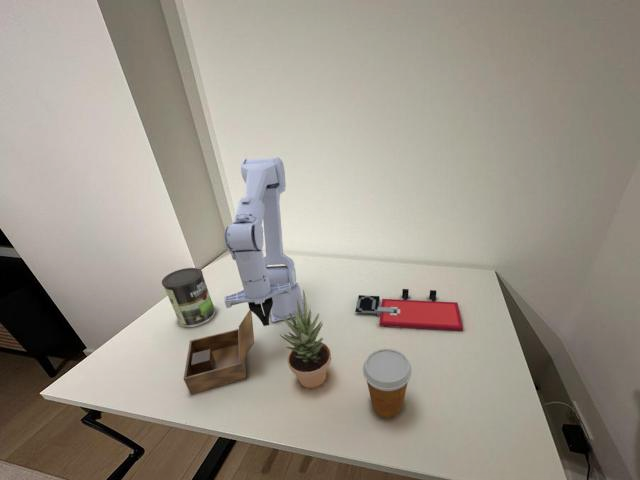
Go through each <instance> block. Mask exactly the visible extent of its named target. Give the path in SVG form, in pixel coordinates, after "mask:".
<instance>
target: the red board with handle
mask: <svg viewBox="0 0 640 480" xmlns="http://www.w3.org/2000/svg"><path fill="white" fill-rule="evenodd" d="M409 291H410V290H409V288H402V293H401V297H402V299H398V298H397V299H395V298H381V305H380V306H379V304H380V295H363V294H358V297H357V301H356V306H355V310H354V313H363V314H376V315H377V317H379V323H378V324H379V325H378V326H379V327H393V328H397V327H398V328H411V329H413V328H414V329H430V330H443V331H461V332H463V330H464V326H463V321H462V317H461V312H460V307H459V303H458V302H456V301H455V302H454V301H436V300H437V289H436V290H434V289H430V290H429V296H428V298H429V300H418V299H417V300H415V299H414V300H413V299H409Z"/></svg>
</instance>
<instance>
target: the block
mask: <svg viewBox="0 0 640 480" xmlns="http://www.w3.org/2000/svg"><path fill="white" fill-rule="evenodd" d="M191 366H192V368H193V370H194V373H195V375H196V374H200V373H203V372H207V371H211V370H214V367H215V359H214V357H213V354H212V352H211V349H208V350H204V351H200V352H196V353H193V355H192V362H191Z"/></svg>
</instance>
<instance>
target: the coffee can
mask: <svg viewBox="0 0 640 480" xmlns="http://www.w3.org/2000/svg"><path fill="white" fill-rule="evenodd" d="M161 285H162V286H163V289H164V290H165V292H166V293H165V294H166V295H167V297H168V299H169V302H170V304H171V306H172V309H173V311H174V313H175V316H176V318H177V320H178V324H179V325H180V326H181V327H184V328H194V327H199V326H202V325H204V324H206V323H208V322H209V321H211V320H212V319H213V318H214V317H215V315H216V309H215V306H214V304H213V301H212V298H211V295H210V291H209V289H208V286H207V283H206V280H205V277H204V273H203V270H202V269H201V268H198V267H185V268H181V269H177V270H174V271H172V272H171V273H168V274H167V275H166V276H164V277H163V278H162V280H161Z"/></svg>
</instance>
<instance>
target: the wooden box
mask: <svg viewBox="0 0 640 480" xmlns="http://www.w3.org/2000/svg"><path fill="white" fill-rule="evenodd" d="M208 349H211V352H212V354H213V357H214V359H215V367H214V370H211V371H207V372H203V373H200V374H196V375H195V373H194V370H193V368H192V366H191V362H192V355H193V353H196V352H200V351H204V350H208ZM243 380H247V367H246V356H245V357H244V359H243V360H242V362H241V361H240V346H239V328H236V329H232V330H228V331H223V332H220V333H216V334H212V335H208V336H204V337H199V338H195V339H190V340H189V344H188V349H187V356H186V362H185V368H184V374H183V381H184V383H185V385H186V388H187V389H188V392H189V394H190V395H194V394H197V393H202V392H204V391H208V390H212V389H215V388H219V387H222V386H226V385H229V384H233V383H236V382H239V381H243Z"/></svg>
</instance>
